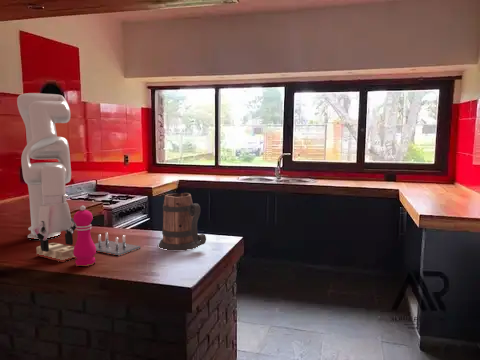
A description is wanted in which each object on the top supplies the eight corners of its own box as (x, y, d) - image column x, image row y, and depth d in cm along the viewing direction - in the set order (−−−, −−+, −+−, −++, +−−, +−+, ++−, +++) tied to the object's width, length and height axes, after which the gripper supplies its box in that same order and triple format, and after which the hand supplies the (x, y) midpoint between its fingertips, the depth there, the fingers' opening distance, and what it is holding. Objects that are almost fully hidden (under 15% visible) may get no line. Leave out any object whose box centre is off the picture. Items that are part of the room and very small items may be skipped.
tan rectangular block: (36, 256, 143) (36, 247, 143) (53, 251, 149) (52, 242, 148) (62, 262, 136) (62, 252, 136) (78, 257, 142) (78, 247, 142)
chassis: (83, 249, 151) (83, 235, 151) (106, 242, 161) (105, 229, 160) (118, 256, 143) (118, 241, 142) (140, 248, 152) (139, 234, 151)
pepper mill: (99, 260, 138) (97, 203, 136) (92, 267, 131) (89, 207, 129) (78, 260, 138) (75, 203, 136) (70, 267, 131) (67, 207, 128)
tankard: (148, 245, 157) (147, 194, 155) (183, 236, 169) (181, 190, 167) (186, 257, 141) (184, 201, 139) (220, 247, 153) (220, 196, 151)
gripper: (68, 196, 149) (71, 241, 151) (24, 202, 134) (28, 252, 136) (82, 197, 146) (84, 243, 147) (38, 204, 131) (42, 255, 132)
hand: (57, 247), depth 142 cm, fingers open, 9 cm apart
